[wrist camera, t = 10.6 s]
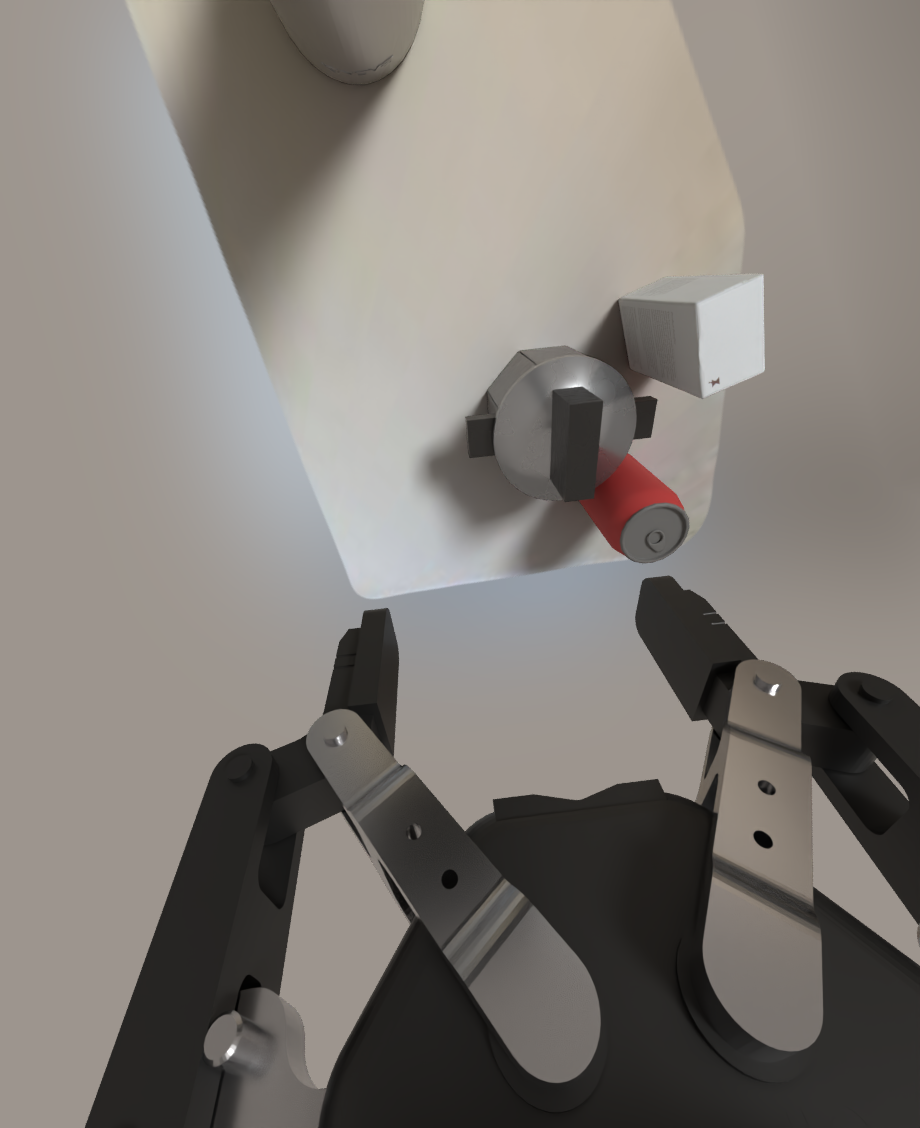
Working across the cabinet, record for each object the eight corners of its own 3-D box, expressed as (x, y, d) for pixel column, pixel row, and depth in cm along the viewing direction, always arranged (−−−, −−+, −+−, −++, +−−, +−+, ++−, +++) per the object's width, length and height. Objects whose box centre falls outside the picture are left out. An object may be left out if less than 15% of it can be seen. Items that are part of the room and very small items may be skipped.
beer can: (584, 516, 46) (628, 581, 37) (561, 467, 43) (603, 524, 33) (641, 486, 45) (704, 545, 35) (622, 433, 42) (686, 482, 32)
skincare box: (675, 348, 38) (766, 375, 28) (628, 369, 38) (700, 402, 28) (667, 272, 34) (767, 270, 24) (616, 296, 35) (692, 304, 25)
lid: (488, 363, 31) (500, 378, 26) (642, 346, 31) (678, 357, 27) (495, 503, 37) (505, 533, 33) (622, 488, 37) (649, 516, 33)
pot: (456, 357, 37) (463, 372, 31) (628, 338, 37) (666, 350, 31) (465, 467, 42) (472, 497, 37) (614, 450, 43) (645, 478, 37)
